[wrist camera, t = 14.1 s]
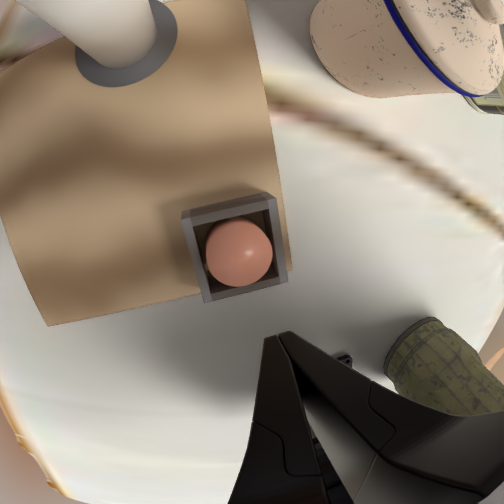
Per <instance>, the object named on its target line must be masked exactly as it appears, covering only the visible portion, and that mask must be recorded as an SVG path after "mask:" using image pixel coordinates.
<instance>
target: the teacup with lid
mask: <svg viewBox="0 0 504 504" xmlns="http://www.w3.org/2000/svg"><path fill="white" fill-rule="evenodd" d="M500 24H504V5H503V3H502V1H501V0H320V1H319V2H318V3H317V5H316V6H315V8H314V9H313V12H312V14H311V18H310V36H311V40H312V44H313V47H314V49H315V51H316V53H317V55H318V57H319V59H320V61H321V62H322V64H323V65H324V66H325V68H326V69H327V70H328V71H329V72H330V74H331V75H332V76H333V77H334V78H335V79H336V80H338V81H339V82H340V83H341V84H343V85H344V86H345V87H347V88H349V89H350V90H352V91H354V92H356V93H358V94H361V95H363V96H367V97H371V98H389V97H398V96H408V95H421V94H438V93H459V94H461V95H464V96H467V97H481V96H484V95H486V94H488V93H490V92H491V91H493V90H494V89H495V88H496V87H497V86H498V84H499V82H500V81H501V78H502V75H503V71H504V48H503V42H502V38H501V34H500V27H499V25H500Z"/></svg>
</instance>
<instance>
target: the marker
mask: <svg viewBox="0 0 504 504" xmlns="http://www.w3.org/2000/svg"><path fill="white" fill-rule="evenodd" d="M15 1H17V2H18V3H20V4H21V5H23V6H24V7H25V8H27V9H28V10H30V11H31V12H33V13H34V14H35V15H37V16H38V17H39V18H41V19H42V20H44V21H45V22H46V23H48V24H49V25H50V26H52V27H53V28H54V29H56V30H57V31H58V32H60V33H61V34H62V35H64V36H65V37H66V38H68V39H69V40H70V41H72V42H73V43H74V44H75V45H77V46H78V47H79V48H81V49H82V50H83V51H84V52H86V53H87V54H88V55H90V56H91V57H92V58H93V59H95V60H96V61H97V62H98V63H100V64H101V65H103V66H105V67H108V68H113V69H118V68H125V67H128V66H131V65H133V64H135V63H137V62H139V61H140V60H141V59H143V58H144V57H145V56H146V55H147V54H148V53H149V52H150V50H151V49H152V47H153V46H154V43H155V41H156V37H157V29H156V25H155V22H154V18H153V15H152V11H151V8H150V4H149V1H148V0H15Z"/></svg>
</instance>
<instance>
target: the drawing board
mask: <svg viewBox="0 0 504 504" xmlns="http://www.w3.org/2000/svg"><path fill="white" fill-rule="evenodd" d="M148 1H149V4H150V8H151V11H152V15H153V18H154V22H155V25H156V29H157V37H156V41H155V43H154V46H153V47H152V49H151V50H150V52H149V53H148V54H147V55H146V56H145V57H144V58H143V59H141V60H140V61H139V62H137V63H135V64H133V65H131V66H128V67H125V68H118V69H113V68H108V67H105V66H103V65H101V64H100V63H98V62H97V61H96V60H95V59H93V58H92V57H91V56H90V55H88V54H87V53H86V52H84V51H83V50H82V49H81V48H79V47H78V46H77V45H75V44H74V43H73V42H72V41H70V40H69V39H68V38H66V37H65V36H64V37H62V38H60V39H58V40H56V41H54V42H52V43H50V44H48V45H46V46H44V47H42V48H40V49H38V50H36V51H35V52H33V53H31V54H29V55H27V56H26V57H24V58H22V59H21V60H19V61H17V62H16V63H14V64H13V65H11V66H9V67H8V68H6V69H5V70H3V71H2V72H0V215H1V219H2V222H3V225H4V228H5V231H6V234H7V237H8V240H9V243H10V245H11V248H12V251H13V254H14V256H15V259H16V261H17V264H18V266H19V269H20V271H21V273H22V276H23V278H24V280H25V282H26V285H27V287H28V289H29V291H30V293H31V295H32V297H33V299H34V301H35V303H36V305H37V307H38V309H39V311H40V313H41V315H42V317H43V319H44V321H45V323H46V324H47V326H54V325H59V324H64V323H69V322H74V321H79V320H83V319H88V318H93V317H98V316H103V315H107V314H112V313H116V312H121V311H126V310H130V309H135V308H139V307H144V306H148V305H152V304H157V303H161V302H166V301H170V300H174V299H178V298H183V297H187V296H191V295H195V294H199V293H201V294H202V297H203V300H204V303H207V302H211V301H215V300H219V299H223V298H227V297H231V296H235V295H239V294H243V293H247V292H251V291H255V290H259V289H263V288H267V287H270V286H274V285H278V284H282V283H285V282H288V275H287V271H290V270H292V263H291V255H290V247H289V240H288V232H287V225H286V218H285V211H284V204H283V197H282V191H281V184H280V177H279V171H278V165H277V159H276V153H275V147H274V141H273V135H272V129H271V123H270V118H269V112H268V107H267V101H266V96H265V90H264V85H263V80H262V75H261V70H260V65H259V60H258V55H257V50H256V45H255V41H254V36H253V31H252V27H251V22H250V18H249V13H248V9H247V5H246V0H176V1H171V2H166V3H161V2H159V1H157V0H148ZM239 215H240V216H245V217H247V218H249V219H251V220H253V221H254V222H255V223H256V224H257V225H258V226H259V227H260V229H261V230H262V231H263V232H264V234H265V235H266V236H267V238H268V239H269V241H270V243H271V246H272V261H271V264H270V267H269V269H268V270H267V272H266V273H265V274H264V275H263V276H262V277H261V278H260V279H259V280H257V281H256V282H254V283H252V284H249V285H246V286H240V287H235V286H229V285H226V284H223V283H221V282H220V281H218V280H217V279H216V278H215V277H214V276H213V275H212V274H211V272H210V270H209V268H208V265H207V259H206V253H205V238H206V235H207V233H208V231H209V229H210V228H211V227H212V225H213V224H214V223H216V222H217V221H218V220H222V219H226V218H231V217H235V216H239Z"/></svg>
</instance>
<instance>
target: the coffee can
mask: <svg viewBox="0 0 504 504" xmlns="http://www.w3.org/2000/svg"><path fill="white" fill-rule="evenodd" d="M499 27H500V34H501V38H502V42H503V48H504V24H500V25H499ZM464 97H465V98H466V100H467V101H468V102H469V104H470V105H471V106H472V107H473V108H474V109H475V110H477V111H478V112H480V113H483V114H501V115H504V71H503V75H502V78H501V81H500V82H499V84H498V86H497V87H496V88H495V89H494V90H493V91H491V92H490V93H488V94H486V95H484V96H481V97H467V96H464Z"/></svg>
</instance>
